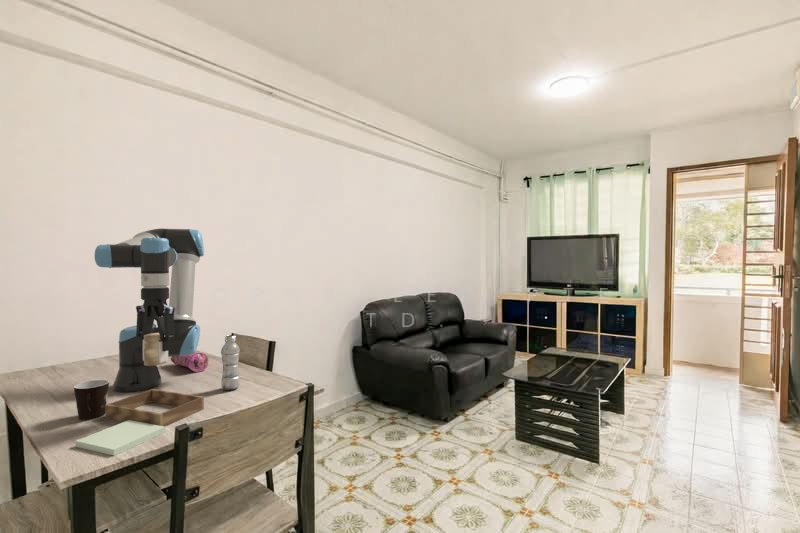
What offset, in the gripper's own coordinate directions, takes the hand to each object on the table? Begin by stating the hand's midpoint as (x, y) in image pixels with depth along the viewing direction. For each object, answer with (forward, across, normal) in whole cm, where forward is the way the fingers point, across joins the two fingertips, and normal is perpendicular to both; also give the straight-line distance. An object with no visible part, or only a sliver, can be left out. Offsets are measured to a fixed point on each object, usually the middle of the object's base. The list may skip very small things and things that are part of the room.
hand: (155, 360), depth 121 cm
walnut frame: (+17, 0, 0) cm, 17 cm away
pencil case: (+17, -33, +43) cm, 57 cm away
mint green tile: (+17, +7, -16) cm, 24 cm away
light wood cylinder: (+1, 0, 0) cm, 1 cm away
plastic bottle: (+17, +5, +27) cm, 32 cm away
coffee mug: (+17, -16, -9) cm, 25 cm away
